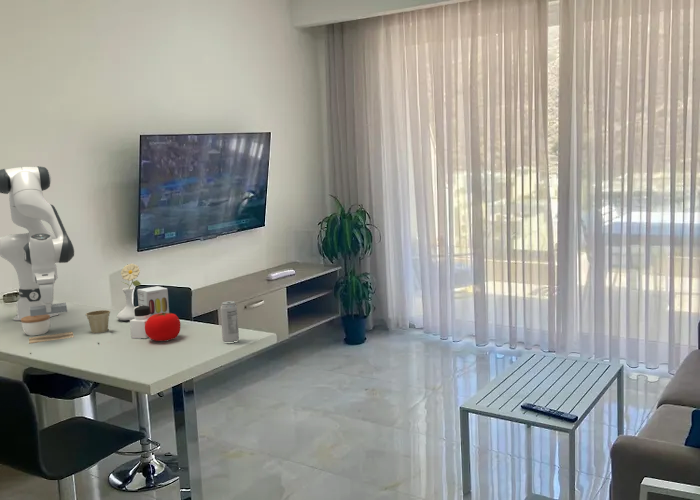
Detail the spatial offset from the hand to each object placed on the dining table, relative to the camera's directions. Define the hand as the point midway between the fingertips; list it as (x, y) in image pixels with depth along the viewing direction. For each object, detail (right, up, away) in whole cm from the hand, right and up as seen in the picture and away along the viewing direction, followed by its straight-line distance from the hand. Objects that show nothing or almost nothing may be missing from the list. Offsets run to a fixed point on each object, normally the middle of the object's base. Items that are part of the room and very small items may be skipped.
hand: (48, 309), depth 262 cm
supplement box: (+39, -9, +12) cm, 41 cm away
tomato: (+47, -11, -6) cm, 49 cm away
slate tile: (0, -1, 0) cm, 1 cm away
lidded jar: (-9, -12, +9) cm, 17 cm away
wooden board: (+1, -12, +1) cm, 12 cm away
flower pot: (+17, -10, +8) cm, 22 cm away
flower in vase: (+23, -7, +31) cm, 39 cm away
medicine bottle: (+38, -11, 0) cm, 39 cm away
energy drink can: (+74, -11, -14) cm, 77 cm away
